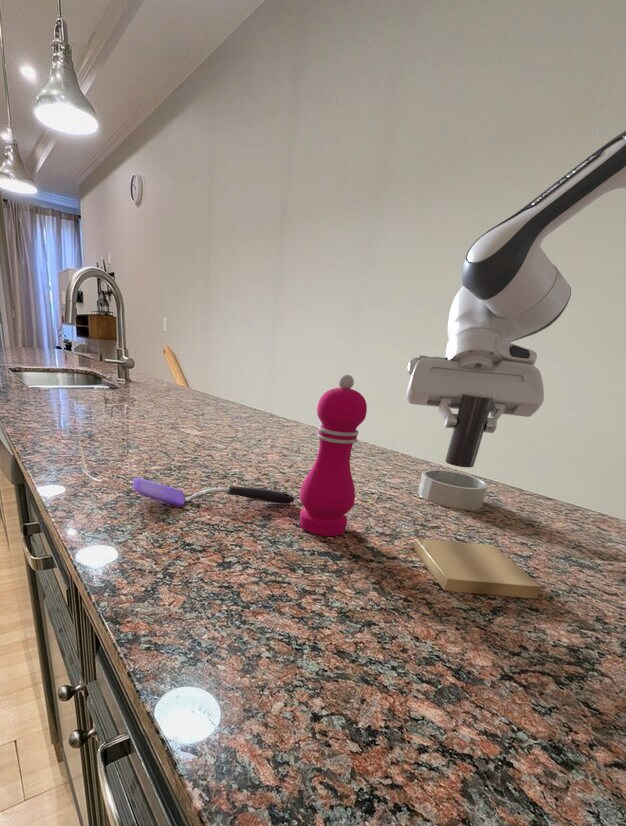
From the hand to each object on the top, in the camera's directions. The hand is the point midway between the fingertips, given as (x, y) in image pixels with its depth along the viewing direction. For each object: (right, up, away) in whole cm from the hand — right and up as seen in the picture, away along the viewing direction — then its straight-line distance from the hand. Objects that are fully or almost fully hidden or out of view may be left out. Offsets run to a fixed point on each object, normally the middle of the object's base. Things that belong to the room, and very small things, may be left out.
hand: (470, 428), depth 71 cm
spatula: (-40, -12, -4) cm, 42 cm away
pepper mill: (-25, -15, -10) cm, 31 cm away
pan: (-1, -11, +5) cm, 13 cm away
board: (-10, -20, -18) cm, 29 cm away
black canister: (0, -5, +3) cm, 6 cm away
